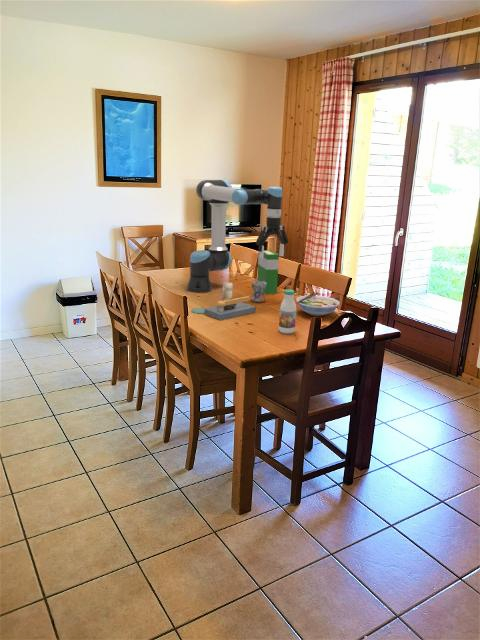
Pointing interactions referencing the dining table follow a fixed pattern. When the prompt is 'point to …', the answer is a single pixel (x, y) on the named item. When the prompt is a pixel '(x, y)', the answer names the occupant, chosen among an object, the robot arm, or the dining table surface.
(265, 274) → the green cereal box
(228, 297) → the plug
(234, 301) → the clip
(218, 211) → the robot arm
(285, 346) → the dining table surface
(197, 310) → the pad
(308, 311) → the ramen bowl
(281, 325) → the milk bottle
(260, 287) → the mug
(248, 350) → the dining table surface
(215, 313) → the socket board
